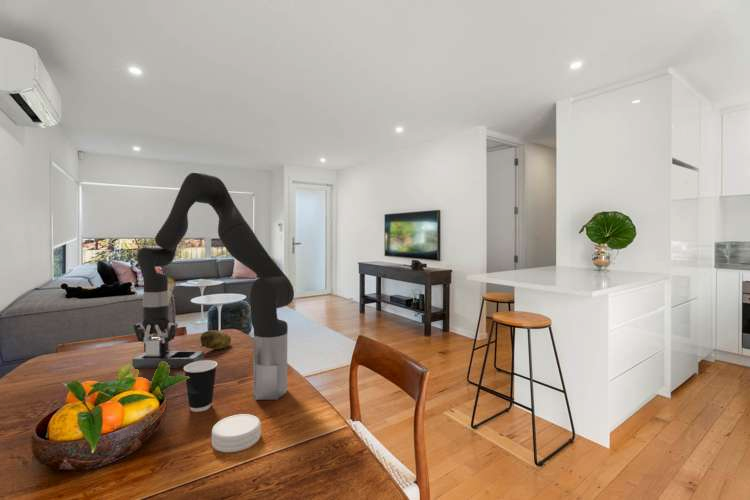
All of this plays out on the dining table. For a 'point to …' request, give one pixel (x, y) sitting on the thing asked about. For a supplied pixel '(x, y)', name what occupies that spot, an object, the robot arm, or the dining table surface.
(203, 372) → the dixie cup
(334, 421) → the dining table surface
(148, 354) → the nut block
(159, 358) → the grey compartment tray
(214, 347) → the potato
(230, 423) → the coaster
